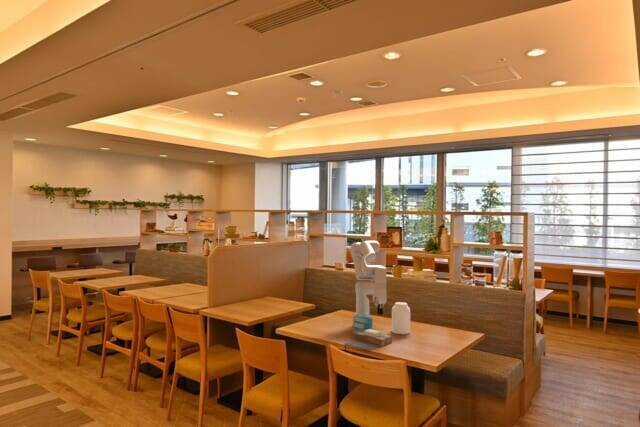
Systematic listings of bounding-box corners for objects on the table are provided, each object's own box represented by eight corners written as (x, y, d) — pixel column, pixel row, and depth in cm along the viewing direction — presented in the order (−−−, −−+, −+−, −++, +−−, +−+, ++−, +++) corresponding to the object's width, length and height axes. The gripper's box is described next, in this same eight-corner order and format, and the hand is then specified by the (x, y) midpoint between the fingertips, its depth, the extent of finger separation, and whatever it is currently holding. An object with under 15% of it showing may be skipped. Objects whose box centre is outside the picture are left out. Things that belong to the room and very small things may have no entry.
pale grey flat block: (369, 332, 280) (369, 328, 280) (381, 335, 274) (381, 331, 274) (363, 334, 275) (363, 330, 275) (375, 337, 269) (375, 333, 269)
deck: (365, 335, 286) (365, 329, 286) (391, 342, 273) (392, 335, 273) (354, 339, 277) (355, 333, 277) (381, 346, 264) (381, 339, 264)
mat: (356, 339, 277) (356, 339, 277) (380, 346, 265) (380, 345, 265) (344, 344, 268) (344, 343, 268) (368, 350, 256) (368, 350, 256)
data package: (353, 333, 292) (353, 315, 291) (355, 331, 295) (356, 314, 295) (369, 336, 286) (369, 318, 286) (372, 334, 290) (372, 316, 289)
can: (413, 332, 296) (414, 303, 296) (401, 335, 288) (402, 305, 288) (399, 328, 305) (400, 300, 305) (387, 331, 298) (388, 302, 297)
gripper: (381, 284, 288) (381, 311, 288) (368, 286, 277) (368, 315, 277) (391, 285, 283) (391, 313, 283) (378, 287, 272) (378, 317, 272)
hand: (380, 314), depth 280 cm, fingers closed
